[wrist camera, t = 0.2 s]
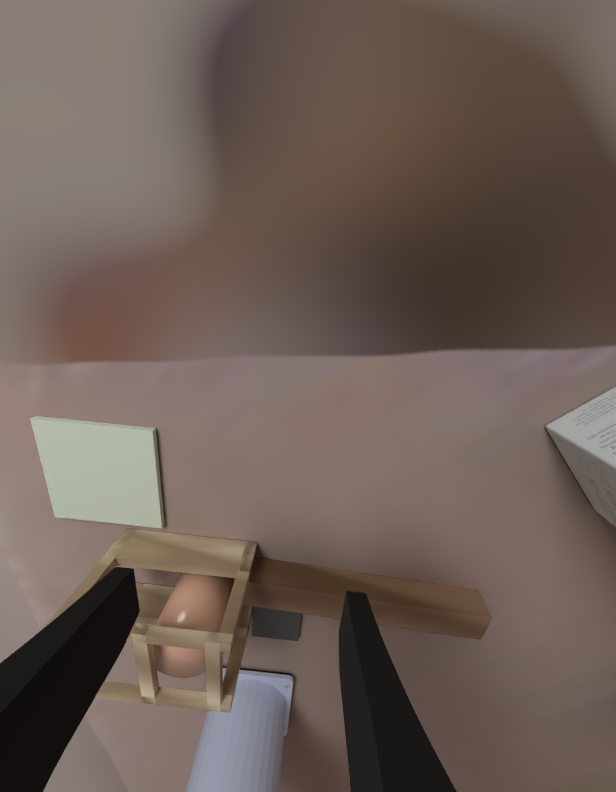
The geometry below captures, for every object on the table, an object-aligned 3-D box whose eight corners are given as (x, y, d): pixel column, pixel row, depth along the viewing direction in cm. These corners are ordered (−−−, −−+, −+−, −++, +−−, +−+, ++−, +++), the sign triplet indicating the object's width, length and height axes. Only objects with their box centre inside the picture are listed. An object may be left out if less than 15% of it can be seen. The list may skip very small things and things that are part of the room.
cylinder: (236, 588, 24) (210, 681, 18) (188, 583, 24) (146, 673, 18) (237, 551, 22) (209, 638, 17) (185, 546, 22) (140, 631, 17)
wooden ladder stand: (254, 601, 24) (230, 713, 18) (135, 588, 24) (68, 694, 18) (257, 542, 22) (230, 644, 16) (126, 528, 22) (46, 624, 16)
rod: (465, 606, 24) (480, 639, 22) (248, 574, 24) (240, 604, 21) (475, 585, 23) (492, 617, 21) (250, 552, 23) (243, 581, 21)
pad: (164, 524, 22) (161, 528, 21) (59, 513, 22) (54, 516, 21) (155, 428, 19) (152, 431, 19) (35, 415, 19) (30, 418, 19)
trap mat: (298, 637, 25) (298, 640, 25) (253, 632, 25) (252, 635, 25) (302, 605, 24) (302, 608, 24) (254, 599, 24) (253, 603, 24)
